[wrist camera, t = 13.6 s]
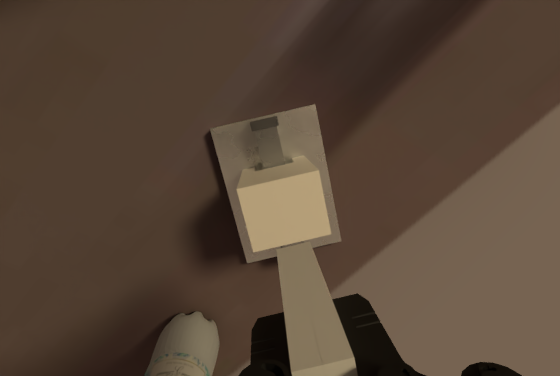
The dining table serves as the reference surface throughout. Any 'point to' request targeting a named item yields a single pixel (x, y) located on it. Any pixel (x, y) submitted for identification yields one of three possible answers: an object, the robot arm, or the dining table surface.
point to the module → (283, 204)
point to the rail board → (273, 162)
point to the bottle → (185, 347)
